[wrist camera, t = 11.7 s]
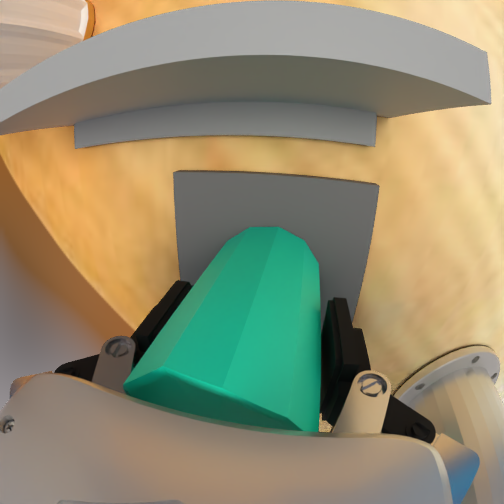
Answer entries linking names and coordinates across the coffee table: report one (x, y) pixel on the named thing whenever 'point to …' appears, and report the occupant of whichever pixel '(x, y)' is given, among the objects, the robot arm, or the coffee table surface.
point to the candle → (243, 338)
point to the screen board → (247, 75)
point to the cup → (39, 32)
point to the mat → (278, 221)
